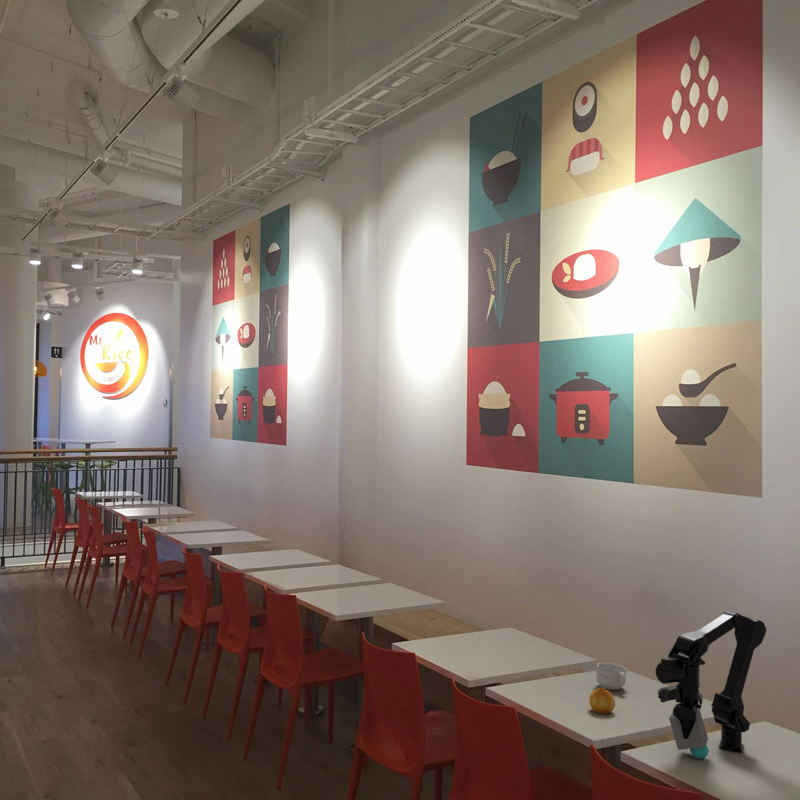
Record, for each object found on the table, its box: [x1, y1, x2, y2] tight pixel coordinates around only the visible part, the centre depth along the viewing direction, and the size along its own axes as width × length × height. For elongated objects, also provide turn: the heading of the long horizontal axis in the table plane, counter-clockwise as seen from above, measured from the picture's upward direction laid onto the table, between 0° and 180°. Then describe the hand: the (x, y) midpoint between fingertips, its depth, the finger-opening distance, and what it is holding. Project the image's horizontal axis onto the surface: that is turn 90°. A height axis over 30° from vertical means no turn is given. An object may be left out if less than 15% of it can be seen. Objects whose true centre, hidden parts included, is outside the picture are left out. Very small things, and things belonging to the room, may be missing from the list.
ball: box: [689, 744, 709, 760], centre depth 229 cm, size 5×5×5 cm
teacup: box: [595, 662, 628, 691], centre depth 290 cm, size 14×11×8 cm
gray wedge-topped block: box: [668, 708, 709, 751], centre depth 231 cm, size 8×8×9 cm
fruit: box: [588, 687, 616, 714], centre depth 266 cm, size 8×8×8 cm
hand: (687, 734), depth 231 cm, fingers closed on gray wedge-topped block, 8 cm apart
